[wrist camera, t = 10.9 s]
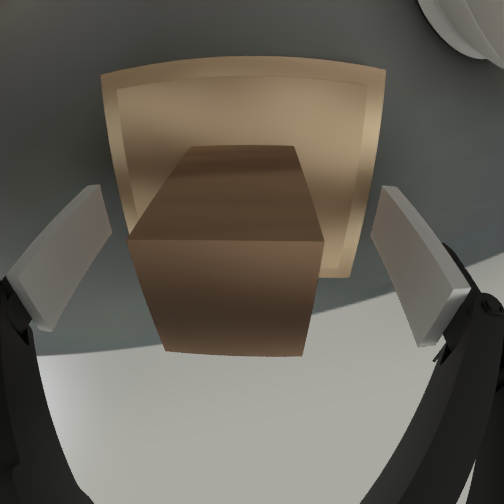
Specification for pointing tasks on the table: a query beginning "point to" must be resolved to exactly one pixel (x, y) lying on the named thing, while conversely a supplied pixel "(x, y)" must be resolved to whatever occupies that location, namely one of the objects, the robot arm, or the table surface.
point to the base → (252, 129)
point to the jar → (469, 26)
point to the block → (231, 252)
